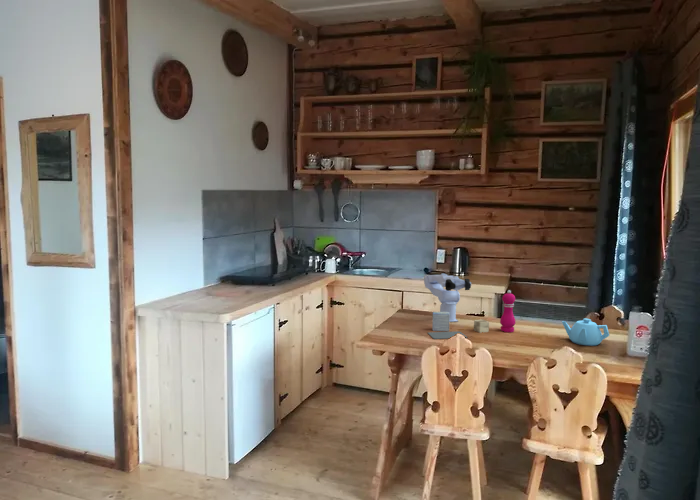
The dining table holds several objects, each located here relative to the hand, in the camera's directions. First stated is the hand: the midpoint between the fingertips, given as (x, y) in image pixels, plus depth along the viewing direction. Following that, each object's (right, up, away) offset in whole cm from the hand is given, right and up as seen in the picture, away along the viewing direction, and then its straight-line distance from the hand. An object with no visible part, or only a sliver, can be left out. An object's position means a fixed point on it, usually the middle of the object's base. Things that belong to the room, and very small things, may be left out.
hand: (462, 286), depth 264 cm
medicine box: (-10, -22, +2) cm, 24 cm away
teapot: (+52, -24, -16) cm, 60 cm away
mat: (-9, -23, -8) cm, 25 cm away
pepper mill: (+22, -22, +2) cm, 31 cm away
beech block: (+9, -22, +1) cm, 24 cm away
